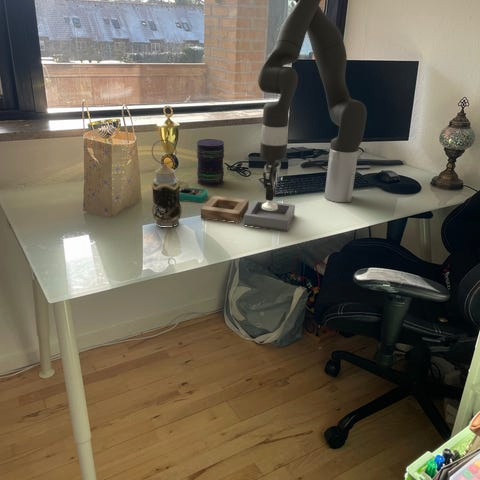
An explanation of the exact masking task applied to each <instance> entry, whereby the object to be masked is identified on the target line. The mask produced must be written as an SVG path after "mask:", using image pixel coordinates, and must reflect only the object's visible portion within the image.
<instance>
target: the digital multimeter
mask: <svg viewBox="0 0 480 480" xmlns="http://www.w3.org/2000/svg"><path fill="white" fill-rule="evenodd" d="M179 198H180V201H186V202H196V203H204V201H206V200H207V198H208V190H207V189H205V188H198V187H197V188H196V187H185V188H184V190H183V189H182V190H181V191H179Z"/></svg>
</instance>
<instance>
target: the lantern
mask: <svg viewBox="0 0 480 480" xmlns="http://www.w3.org/2000/svg"><path fill="white" fill-rule="evenodd" d="M164 141H165V142H169V144H171V145H172V146H173V148H174V151H175V152H177V149H176V146H175V145H174V144H173V143H172V141H170V140H167V139H160V140H158V141H156V142H154V144H153V145H152V148H151V155H152V158H153V159H154V160H155V161H156V162H157V163H159V164H162V166H160V167H159V168H158V169H157V168H156V170H155V174H156V178H154V179H153V180H151V188H152V208H151V213H152V217H153V219H154V220H155V223H156V224H158V225H160V226H174V225H176V224H179V220H180V219H181V216H182V214H183V213H182V212H183V210H182V204H181V200H180V198H179V189H180V187H181V184H180V182H179V180H178V178H176V177H175V174H174V173H175V172H176V171H175V169H173V168H171V167H170V166H169V165H168V164H170V163H172V162H174V161H175V159H176V156H177V153H175V155H174V157H173V158H172V160H171V161H169V162H161V161H158V160H157V158H155V155H154V154H153V153H154V151H153V150H154V146H155V145H156V144H157V143H159V142H164Z"/></svg>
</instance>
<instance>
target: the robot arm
mask: <svg viewBox="0 0 480 480" xmlns="http://www.w3.org/2000/svg"><path fill="white" fill-rule="evenodd" d="M294 1H295V3H296V4H295V5H294V7H293V8H292V10H291V11H290V12H289V14H288V15H287V16H286V18H285V19H284V21H283V22H282V24H281V26H280V29H279V32H278V35H277V38H276V42H275V44H274V47H273V49H272V51H271V52H270V54H269V55H268V57H267V59H266V60H265V62H264V63H263V65H262V66H261V68H260V70H259V72H258V77H257V83H258V87H259V89H260V90H261V91H262V92H264V93H267V94H277V95H280V97H279V99H278V100H277V101H271V102H267V103H265V104H264V106H263V110H262V125H261V127H262V128H261V132H260V149H259V150H260V151H259V156H260V157H261V158H262V159H264V160H266V164H264V169H263V170H264V171H263V174H262V176H263V187H264V189H265V201H267V200H269V201H272V200H273V201H274V198H275V197H276V190H277V184H278V181H279V176H280V170H281V165H282V163H281V161H284V160H285V159H286V157H287V152H288V151H287V150H288V148H287V147H288V140H289V130H288V129H289V128H288V125H289V114H290V108H291V104H292V102H293V97H294V95H295V92H296V90H297V86H298V82H299V75H298V73H297V70H296V68H294V67H292V66H286V65H290V64H293V63H296V62H297V61H298V59H299V57H300V54H301V50H302V48H303V44H304V41H305V38H306V34H307V37H308V38H309V42H310V46H311V51H312V54H313V57H314V60H315V64H316V66H317V69H318V73H319V75H320V79H321V82H322V84H323V88H324V93H325V97H326V102H327V108H328V113H329V114H328V115H329V117H330V119H331V121H332V123H334V125H336V126H338V127H339V128H338V134H337V136H336V137H334V138H332V139H331V141H330V146H329V147H330V148H329V155H328V164H327V172H326V181H325V190H324V198H325V199H326V200H327V201H331V202H336V203H346V202H347V203H348V202H349V203H351V202H352V197H353V190H354V183H355V177H356V169H357V161H358V155H359V149H360V146H361V143H362V142H363V138H364V134H365V129H366V124H367V123H366V122H367V115H368V112H367V107H366V105H365V104H364V103H363V102H362V101H359V100H356V99H353V98H352V97H351V96H350V92H349V90H348V87H347V86H348V85H347V84H346V69H347V63H348V62H347V60H348V57H347V56H348V55H347V50H346V47H345V41H344V39H343V35H342V33H341V31H340V29H339V28H338V26H337V25H336V24H335V22H333V21H332V20H331V19H330V18H329V17H328V15H326V13H325V12H324V11H323V10H322V8H321V6H320V3H321V2H322V0H294ZM268 183H270V184H268Z"/></svg>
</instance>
